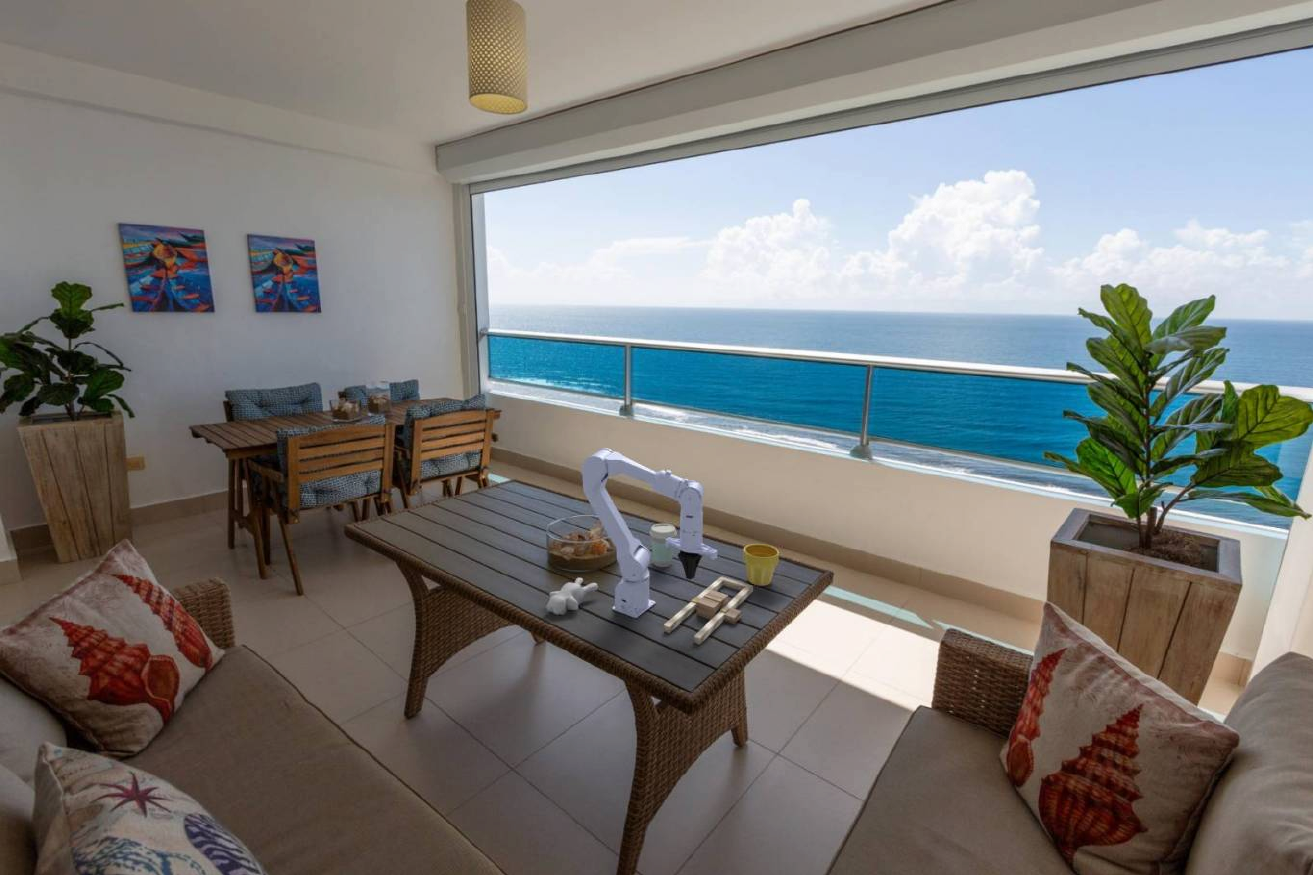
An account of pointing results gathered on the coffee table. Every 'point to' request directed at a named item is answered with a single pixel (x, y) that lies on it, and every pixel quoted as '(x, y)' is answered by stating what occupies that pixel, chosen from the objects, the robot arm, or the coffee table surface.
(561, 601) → the bunny figurine
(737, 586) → the beam slot
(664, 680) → the coffee table surface
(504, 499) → the coffee table surface
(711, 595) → the rider block
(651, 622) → the coffee table surface
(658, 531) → the coffee cup
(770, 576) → the plant pot
